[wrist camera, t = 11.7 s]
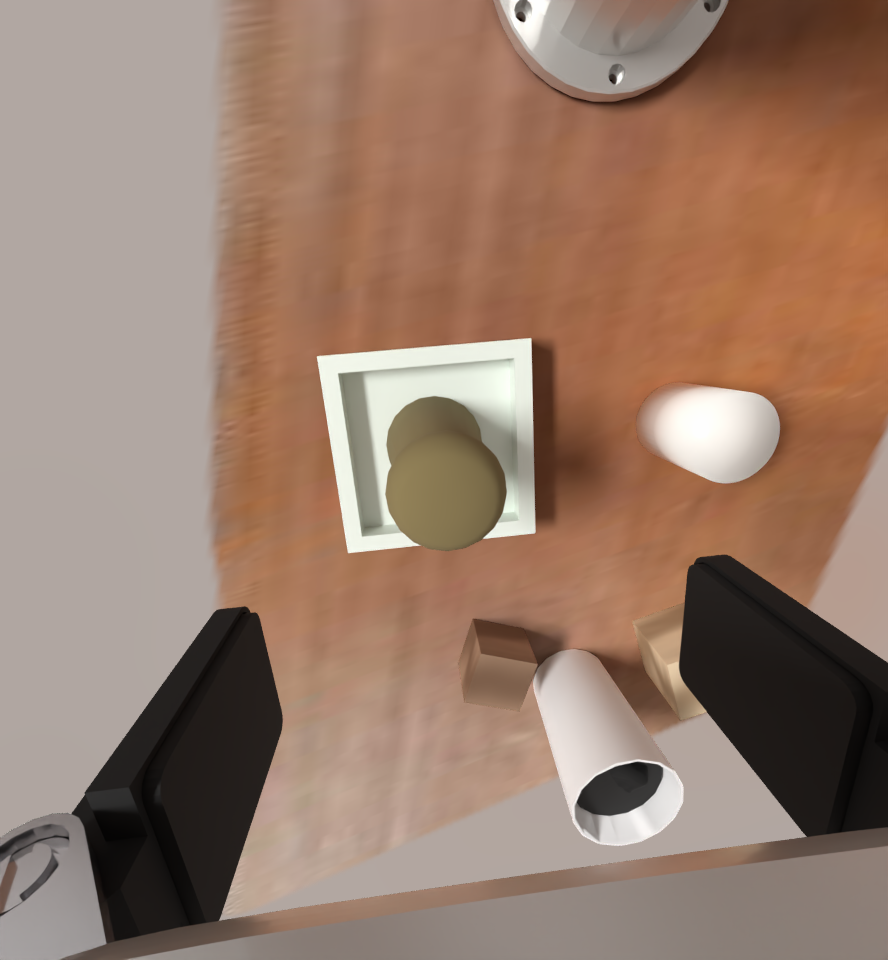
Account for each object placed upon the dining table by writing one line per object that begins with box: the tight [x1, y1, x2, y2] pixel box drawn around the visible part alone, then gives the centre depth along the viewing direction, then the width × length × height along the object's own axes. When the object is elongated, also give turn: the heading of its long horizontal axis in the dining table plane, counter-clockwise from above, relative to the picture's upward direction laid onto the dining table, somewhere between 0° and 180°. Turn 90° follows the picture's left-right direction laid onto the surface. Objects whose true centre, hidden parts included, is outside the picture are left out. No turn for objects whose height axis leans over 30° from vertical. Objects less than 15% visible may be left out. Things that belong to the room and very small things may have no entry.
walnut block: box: [458, 619, 538, 712], centre depth 32 cm, size 4×4×4 cm
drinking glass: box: [533, 649, 683, 846], centre depth 31 cm, size 7×7×10 cm
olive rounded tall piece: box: [385, 396, 507, 551], centre depth 23 cm, size 6×6×11 cm
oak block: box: [632, 603, 707, 721], centre depth 33 cm, size 5×5×5 cm
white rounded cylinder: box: [636, 382, 780, 483], centre depth 27 cm, size 5×5×6 cm
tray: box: [317, 338, 535, 553], centre depth 28 cm, size 12×12×2 cm
